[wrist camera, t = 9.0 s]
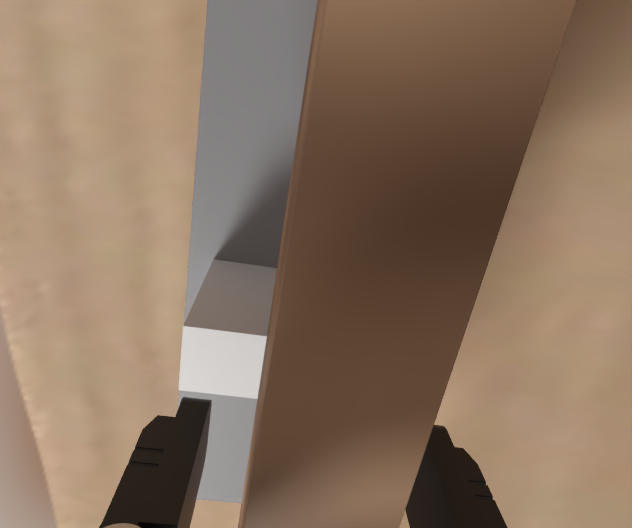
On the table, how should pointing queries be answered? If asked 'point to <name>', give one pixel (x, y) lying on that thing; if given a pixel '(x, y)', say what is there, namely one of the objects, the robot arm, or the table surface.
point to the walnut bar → (387, 243)
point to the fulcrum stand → (239, 216)
